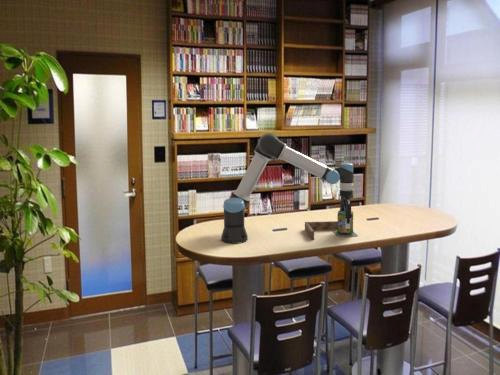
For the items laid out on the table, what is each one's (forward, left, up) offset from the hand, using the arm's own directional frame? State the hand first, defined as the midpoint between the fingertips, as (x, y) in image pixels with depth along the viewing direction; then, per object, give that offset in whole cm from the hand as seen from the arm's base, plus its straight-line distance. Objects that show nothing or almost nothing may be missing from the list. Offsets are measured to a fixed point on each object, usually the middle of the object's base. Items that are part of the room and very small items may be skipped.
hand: (345, 226), depth 273 cm
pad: (0, 0, -5) cm, 5 cm away
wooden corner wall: (-8, 0, -5) cm, 9 cm away
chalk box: (0, 0, -3) cm, 3 cm away
